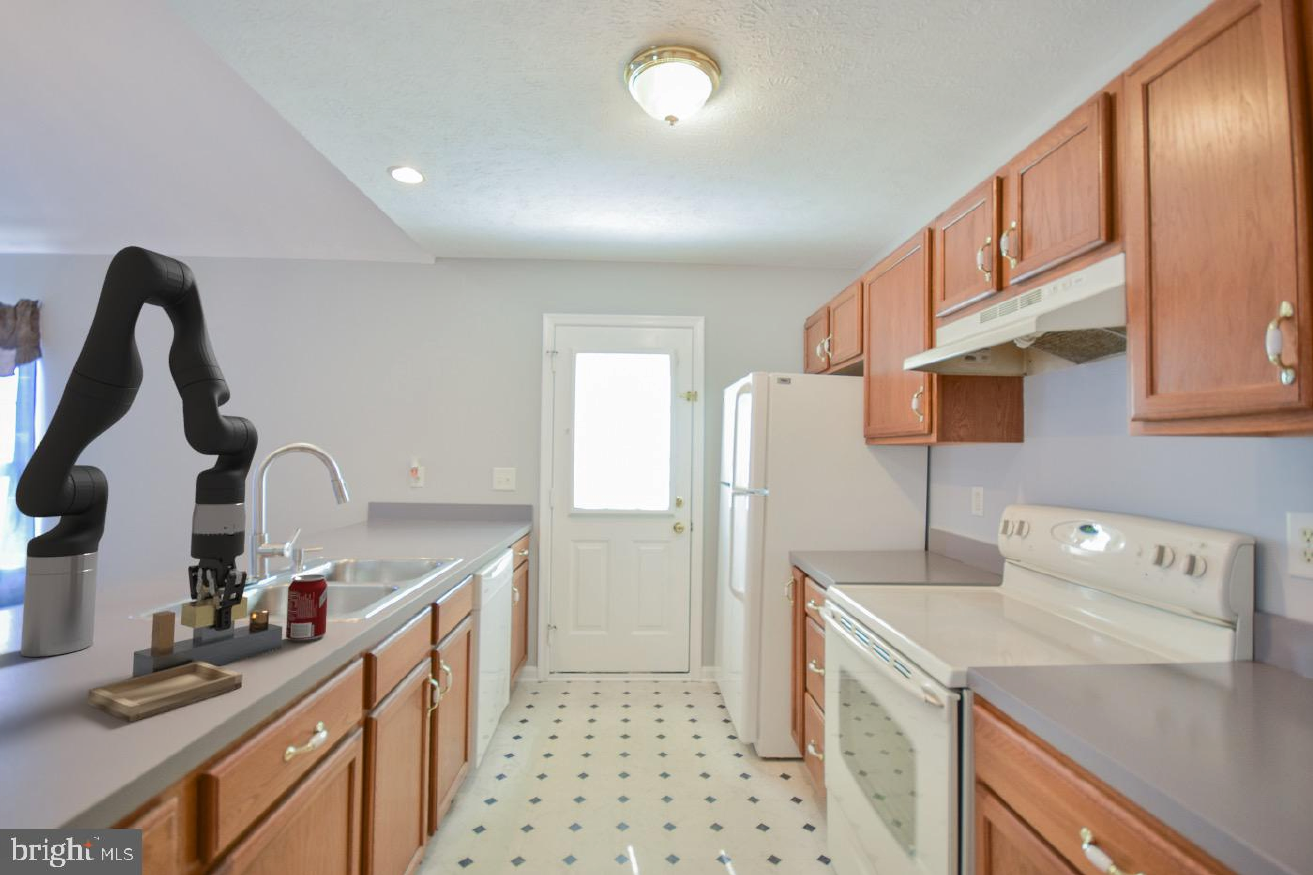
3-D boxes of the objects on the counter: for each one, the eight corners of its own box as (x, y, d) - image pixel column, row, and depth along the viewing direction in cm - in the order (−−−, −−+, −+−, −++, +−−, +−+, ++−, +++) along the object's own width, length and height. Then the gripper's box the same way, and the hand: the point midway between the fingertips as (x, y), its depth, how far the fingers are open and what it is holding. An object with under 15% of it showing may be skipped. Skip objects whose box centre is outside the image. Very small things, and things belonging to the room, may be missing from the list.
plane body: (151, 684, 92) (155, 619, 93) (132, 676, 95) (135, 614, 95) (281, 648, 110) (283, 594, 111) (262, 643, 113) (264, 590, 113)
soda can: (312, 644, 113) (315, 581, 113) (277, 643, 113) (280, 580, 114) (332, 633, 120) (335, 574, 120) (299, 632, 120) (302, 573, 120)
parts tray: (88, 703, 85) (88, 689, 85) (199, 673, 97) (199, 660, 97) (129, 722, 79) (130, 707, 79) (241, 687, 92) (242, 674, 92)
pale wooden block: (180, 624, 100) (181, 603, 100) (232, 613, 107) (232, 594, 108) (195, 628, 98) (196, 607, 98) (246, 617, 105) (247, 597, 106)
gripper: (172, 528, 103) (167, 627, 103) (218, 534, 97) (213, 640, 96) (219, 524, 110) (215, 617, 109) (265, 530, 104) (261, 628, 103)
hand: (214, 627), depth 103 cm, fingers closed on pale wooden block, 4 cm apart
